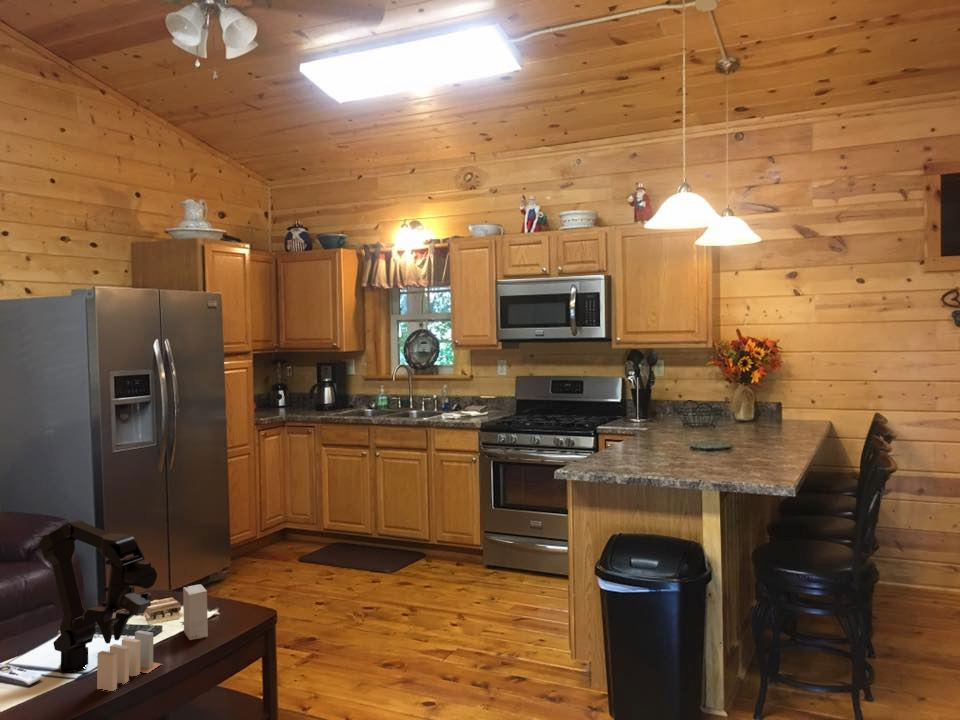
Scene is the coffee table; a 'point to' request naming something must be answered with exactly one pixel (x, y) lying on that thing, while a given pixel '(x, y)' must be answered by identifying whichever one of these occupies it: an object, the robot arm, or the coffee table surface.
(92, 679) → the coffee table surface
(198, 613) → the skincare box
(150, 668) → the tile
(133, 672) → the domino
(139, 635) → the domino
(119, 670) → the domino
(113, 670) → the domino
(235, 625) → the coffee table surface
